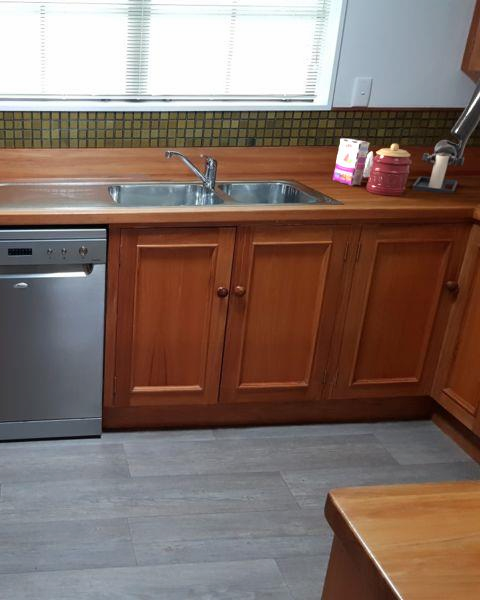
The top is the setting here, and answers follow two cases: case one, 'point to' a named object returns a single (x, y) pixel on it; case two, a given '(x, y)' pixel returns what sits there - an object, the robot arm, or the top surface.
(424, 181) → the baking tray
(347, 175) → the candy bar box
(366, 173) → the shaker set
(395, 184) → the kitchen canister
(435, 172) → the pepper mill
